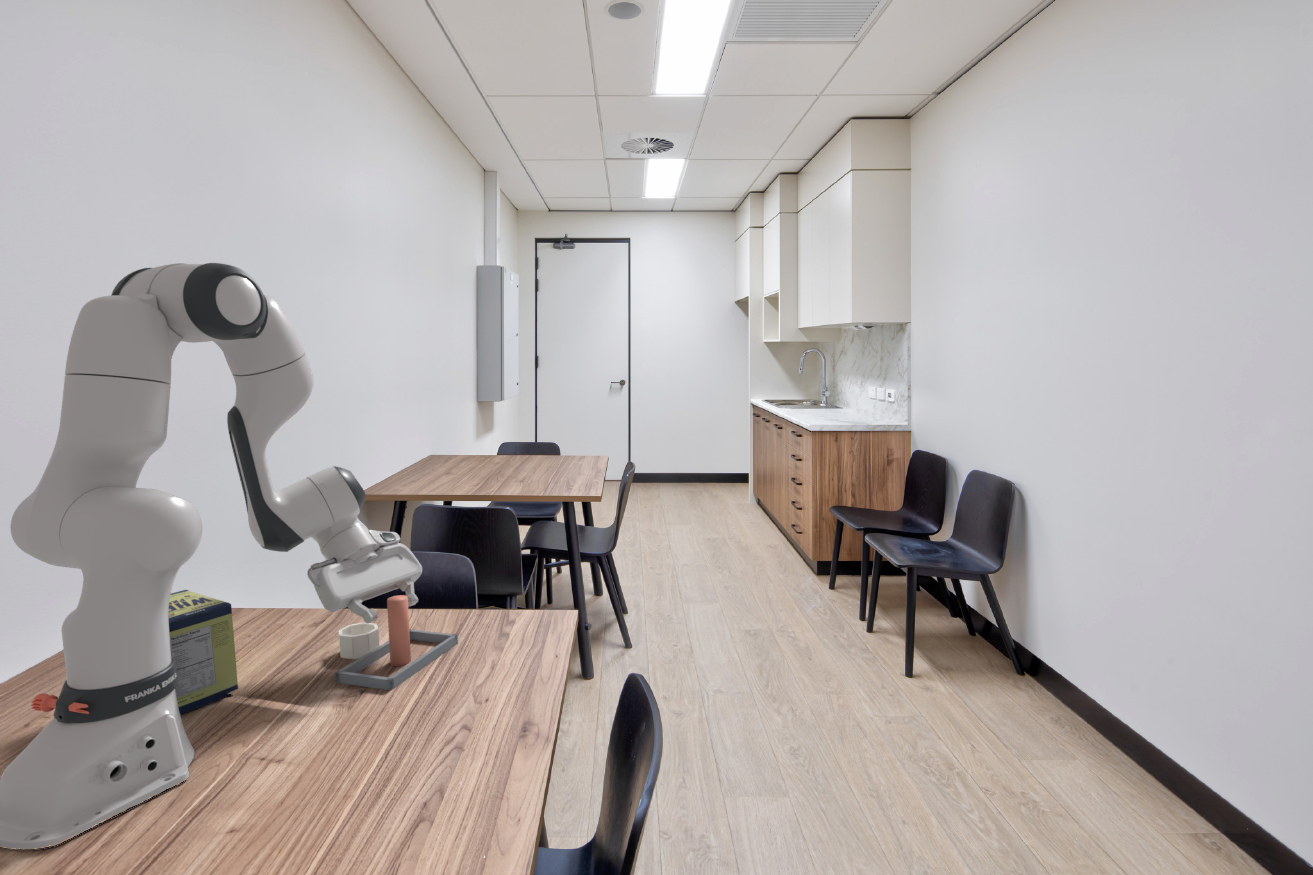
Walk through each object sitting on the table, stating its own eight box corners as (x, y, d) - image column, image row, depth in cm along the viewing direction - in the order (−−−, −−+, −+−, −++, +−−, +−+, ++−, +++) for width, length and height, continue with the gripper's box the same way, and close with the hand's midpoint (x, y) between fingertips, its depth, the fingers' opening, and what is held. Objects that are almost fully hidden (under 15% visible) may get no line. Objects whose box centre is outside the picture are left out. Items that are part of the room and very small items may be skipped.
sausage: (402, 667, 124) (399, 602, 122) (386, 665, 125) (382, 600, 123) (415, 659, 127) (411, 596, 125) (398, 657, 128) (395, 594, 126)
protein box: (192, 672, 124) (185, 588, 122) (240, 692, 116) (233, 602, 114) (124, 696, 115) (115, 606, 114) (171, 720, 107) (162, 623, 106)
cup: (362, 664, 126) (361, 638, 126) (332, 660, 128) (330, 634, 128) (386, 649, 133) (385, 624, 132) (357, 646, 135) (355, 621, 134)
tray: (391, 694, 115) (390, 680, 114) (335, 686, 118) (335, 672, 118) (458, 647, 134) (457, 634, 133) (409, 641, 137) (408, 629, 137)
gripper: (310, 556, 118) (353, 620, 114) (403, 530, 136) (443, 585, 133) (294, 578, 120) (336, 642, 117) (388, 550, 138) (426, 604, 135)
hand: (394, 611), depth 125 cm, fingers open, 8 cm apart
